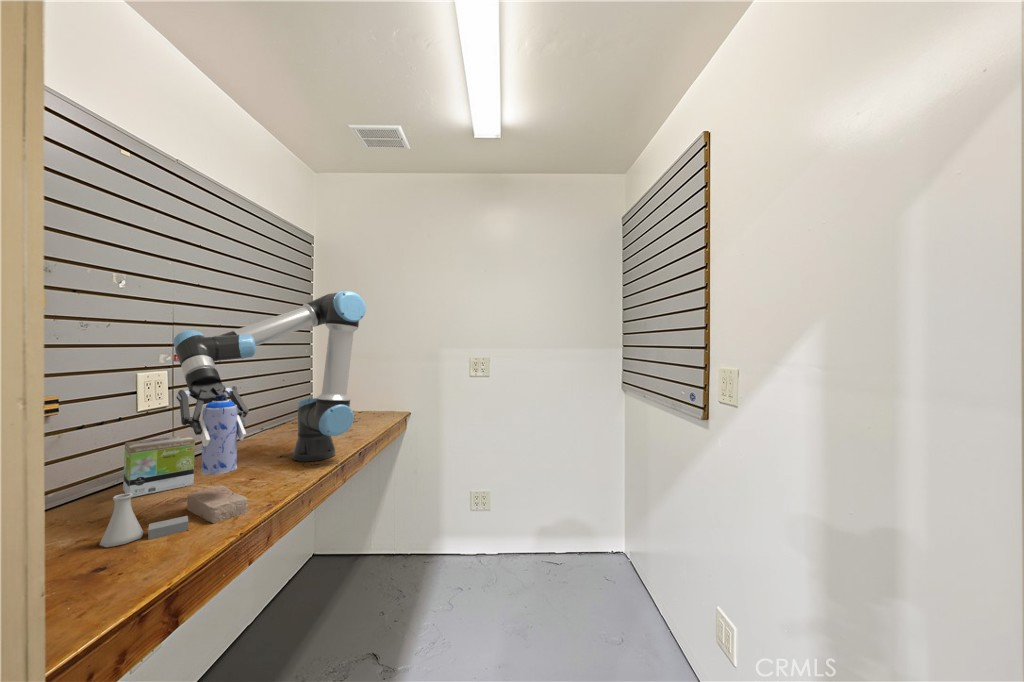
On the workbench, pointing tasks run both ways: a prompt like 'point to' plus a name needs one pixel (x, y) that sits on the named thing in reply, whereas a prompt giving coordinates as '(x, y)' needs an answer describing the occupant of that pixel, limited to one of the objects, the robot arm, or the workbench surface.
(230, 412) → the aerosol can
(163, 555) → the workbench surface
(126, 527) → the flask
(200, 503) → the brick
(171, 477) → the tea box
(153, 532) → the block
